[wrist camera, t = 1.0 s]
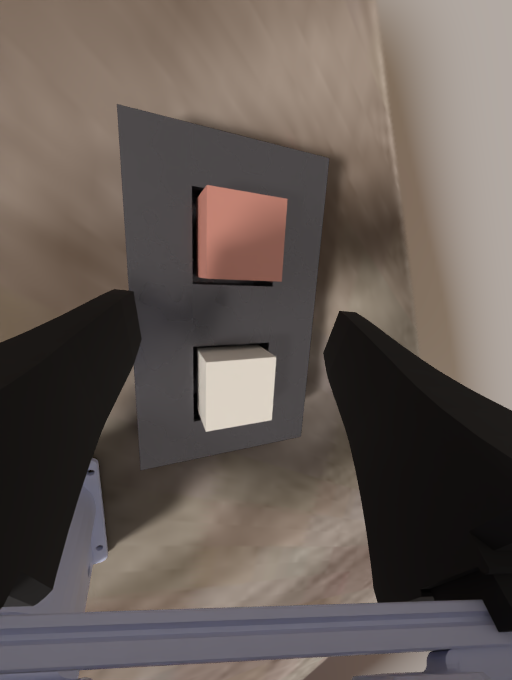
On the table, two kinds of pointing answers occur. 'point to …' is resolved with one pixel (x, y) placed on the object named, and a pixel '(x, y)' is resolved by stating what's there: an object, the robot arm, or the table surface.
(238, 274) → the red key
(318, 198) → the grey flat block
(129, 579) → the table surface
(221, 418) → the cream key
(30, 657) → the robot arm
